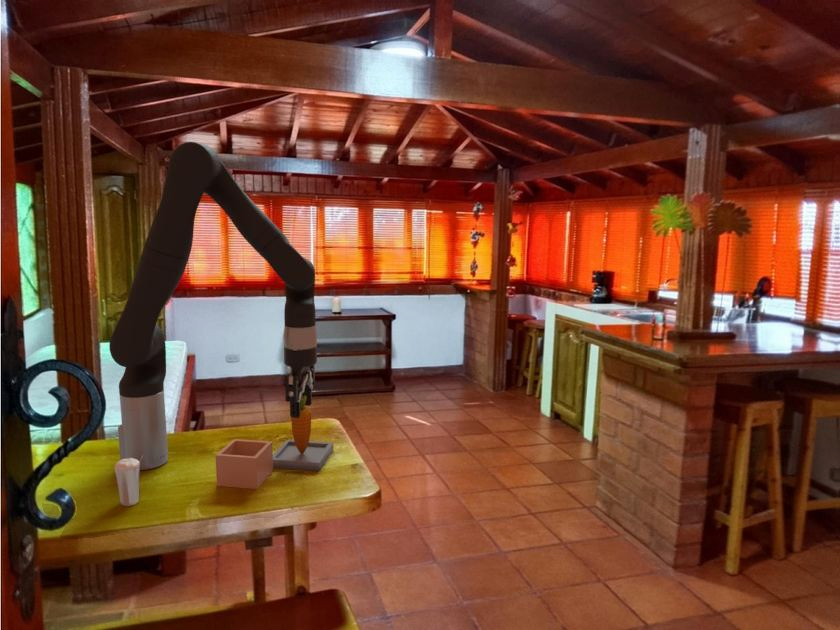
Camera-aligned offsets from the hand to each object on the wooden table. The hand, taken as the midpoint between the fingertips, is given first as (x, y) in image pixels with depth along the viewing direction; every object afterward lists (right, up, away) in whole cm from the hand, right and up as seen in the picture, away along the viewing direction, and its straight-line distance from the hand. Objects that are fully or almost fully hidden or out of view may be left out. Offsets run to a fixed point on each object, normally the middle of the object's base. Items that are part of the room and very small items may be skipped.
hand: (301, 411), depth 138 cm
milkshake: (-30, -15, -20) cm, 39 cm away
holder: (-11, -14, -9) cm, 19 cm away
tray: (0, -12, +2) cm, 12 cm away
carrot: (0, -11, +2) cm, 11 cm away
